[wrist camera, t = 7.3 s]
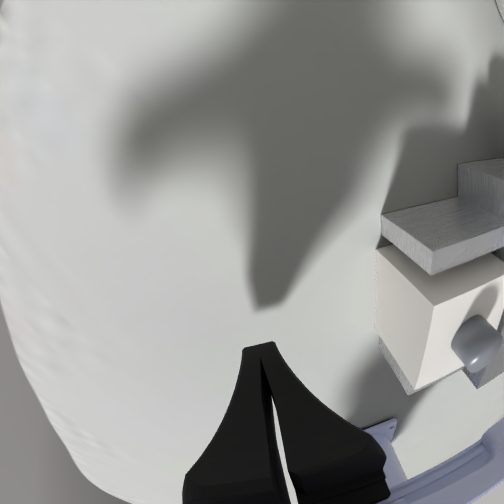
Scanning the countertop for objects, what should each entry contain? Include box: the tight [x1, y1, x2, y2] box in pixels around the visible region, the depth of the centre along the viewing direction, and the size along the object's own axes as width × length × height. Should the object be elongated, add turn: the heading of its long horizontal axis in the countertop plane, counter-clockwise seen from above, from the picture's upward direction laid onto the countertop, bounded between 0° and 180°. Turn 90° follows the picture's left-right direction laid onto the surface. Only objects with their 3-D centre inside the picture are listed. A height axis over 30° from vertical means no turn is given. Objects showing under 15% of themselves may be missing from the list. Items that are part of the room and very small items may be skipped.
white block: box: [374, 244, 504, 390], centre depth 12 cm, size 5×5×6 cm
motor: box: [379, 158, 504, 395], centre depth 12 cm, size 15×12×5 cm
